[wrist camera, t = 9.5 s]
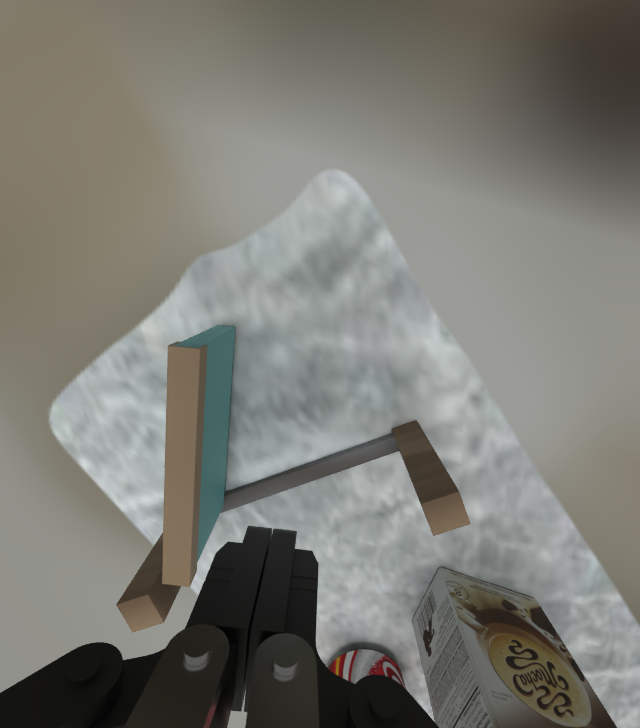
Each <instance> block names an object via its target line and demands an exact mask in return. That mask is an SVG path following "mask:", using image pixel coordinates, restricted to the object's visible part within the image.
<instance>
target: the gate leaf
mask: <svg viewBox="0 0 640 728" xmlns="http://www.w3.org/2000/svg"><path fill="white" fill-rule="evenodd" d="M234 335H235V327H230V326H221V325H217V326H215V327H213V328H211V329H208V330H206V331H204V332H202V333H200V334H198V335H195V336H193V337H191V338H189V339H187V340H184V341H182V342H175V343H173V344H171V345H169V346H168V368H167V408H166V447H165V487H164V527H163V566H162V584H169V585H177V586H186V587H190V585H191V583H192V581H193V578H194V576H195V574H196V572H197V562H198V560H199V558H200V555H201V553H202V551H203V549H204V547H205V545H206V542H207V540H208V538H209V536H210V534H211V531H212V529H213V527H214V525H215V523H216V521H217V518H218V516H219V514H220V512H221V510H222V507H223V505H224V492H225V476H226V461H227V445H228V429H229V414H230V398H231V382H232V366H233V351H234Z"/></svg>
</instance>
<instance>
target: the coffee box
mask: <svg viewBox="0 0 640 728" xmlns="http://www.w3.org/2000/svg"><path fill="white" fill-rule="evenodd" d="M412 624H413V627H414V631H415V635H416V640H417V645H418V649H419V653H420V658H421V662H422V667H423V670H424V675H425V679H426V683H427V688H428V692H429V697H430V701H431V706H432V710H433V715H434V719H435V723H436V724H437V726H438V727H439V728H617V727H616V725H615V724H614V722H613V721H612V719H611V717H610V716H609V714H608V713H607V711H606V710H605V708H604V706H603V705H602V703H601V702H600V700H599V698H598V697H597V695H596V694H595V692H594V691H593V689H592V687H591V686H590V684H589V683H588V681H587V680H586V678H585V677H584V675H583V673H582V672H581V670H580V669H579V667H578V665H577V664H576V662H575V660H574V659H573V657H572V655H571V654H570V652H569V651H568V649H567V648H566V646H565V645H564V643H563V642H562V640H561V638H560V637H559V635H558V634H557V632H556V631H555V629H554V627H553V626H552V624H551V623H550V621H549V619H548V618H547V616H546V615H545V613H544V612H543V610H542V608H541V607H540V605H539V604H538V602H537V601H536V600H535V599H533V598H530V597H528V596H525V595H522V594H519V593H515V592H512V591H510V590H507V589H504V588H501V587H498V586H495V585H492V584H489V583H486V582H483V581H480V580H477V579H474V578H471V577H468V576H465V575H463V574H460V573H457V572H454V571H451V570H448V569H445V568H442V567H440V568H439V569H438V571H437V573H436V575H435V577H434V579H433V581H432V583H431V585H430V587H429V588H428V590H427V592H426V594H425V596H424V598H423V600H422V602H421V604H420V606H419V608H418V610H417V612H416V614H415V616H414V618H413V620H412Z"/></svg>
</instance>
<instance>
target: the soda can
mask: <svg viewBox="0 0 640 728" xmlns="http://www.w3.org/2000/svg"><path fill="white" fill-rule="evenodd" d="M329 670H330V671H332V672H333V673H334V674H336V675H338V676H340V677H341V678H344V679H346V680H348V681H350V682H352V683H354V684H356V682H357V681H359V680H360V679H361V678H363V677H365V676H368V675H373V674H378V675H384V676H387V677H390V678H392V679H394V680H395V681H397V682H398V683H400V684H401V685H402V686H403V687H404V688H405V685H404V681H403V678H402V674H401V671H400V669H399V667H398V665H397V664H396V663H395V662H394V661H393V660H392V659H391V658H390V657H388V656H387V655H385V654H383V653H381V652H378V651H374V650H367V649H359V650H353V651H350V652H347V653H345V654H343V655H341V656H339V657H338V658H337V659H336V660H334V661H333V662H332V664H331V665H330V667H329ZM405 689H406V688H405Z"/></svg>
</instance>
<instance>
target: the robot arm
mask: <svg viewBox="0 0 640 728" xmlns="http://www.w3.org/2000/svg"><path fill="white" fill-rule="evenodd" d="M296 534H297V531H292V530H283V529H273V533H272V528H264V527H255V526H248V528H247V531H246V534H245V537H244V540H243V543H236V542H227V543H226V544H225V545H224V546H223V547H222V548H221V549H220V550H219V551H218V552H217V553H216V555H215V557H214V560H213V562H212V564H211V567H210V569H209V572H208V574H207V577H206V580H205V581H204V584H203V586H202V589H201V591H200V594H199V596H198V599H197V601H196V603H195V606H194V608H193V611H192V613H191V615H190V618H189V621H188V623H187V625H186V627H185V629H183V630H182V631H180V632H179V633H177V634H176V635H175V636H174V637H173V638H172V639H171V640H170V642H169V643H168V645H167V646H166V648H165V649H163V650H161V651H159V652H157V653H154V654H151V655H147V656H142V657H137V658H133V659H127V660H123V659H122V655H121V653H120V651H119V650H118V649H117V648H116V647H115V646H113V645H111V644H108V643H103V642H102V643H101V642H99V643H98V642H97V643H90V644H86V645H83V646H81V647H78V648H76V649H74V650H72V651H70V652H69V653H67V654H65V655H64V656H62V657H60V658H59V659H57V660H55V661H54V662H52V663H50V664H48V665H47V666H45V667H43V668H42V669H40V670H38V671H37V672H35V673H33V674H32V675H30V676H28V677H27V678H25V679H24V680H22V681H20V682H18V683H16V684H15V685H13V686H11V687H10V688H8V689H6V690H5V691H3V692H1V693H0V728H227V725H228V721H229V717H230V712H231V710H232V711H241V710H242V705H243V700H244V694H245V690H246V695H245V707H244V711H245V712H247V718H246V726H245V728H439V727H438V726H437V724H436V723H435V722H434V721H433V720H432V719H431V718H430V716H429V715H428V714H427V713H426V712H425V711H424V709H423V708H422V707H421V706H420V705H419V704H418V703H417V701H416V700H415V699H414V698H413V697H412V696H411V695H410V693H409V692H408V691H407V690H406V689H405V688H404V687H403V686H402V685H401V684H400V683H398V682H397V681H395V680H394V679H392V678H390V677H387V676H384V675H378V674H373V675H368V676H365V677H363V678H361V679H360V680H359V681H357V682H356V684H354V683H352V682H350V681H348V680H346V679H344V678H341V677H340V676H338V675H336V674H334V673H333V672H332V671H330V670H329V669H328V668H327V667H326V666H325V665H324V663H323V662H322V660H321V659H320V657H319V655H318V652H317V649H316V614H317V588H318V562H317V560H316V558H315V556H314V554H313V552H312V551H309V550H300V549H295V544H296ZM271 537H272V538H271Z"/></svg>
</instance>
